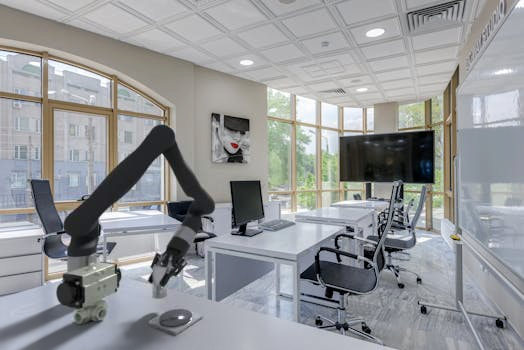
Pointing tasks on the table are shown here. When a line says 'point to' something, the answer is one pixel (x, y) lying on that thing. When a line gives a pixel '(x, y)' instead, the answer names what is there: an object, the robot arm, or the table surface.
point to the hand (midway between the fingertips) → (155, 283)
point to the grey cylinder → (158, 274)
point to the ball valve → (89, 290)
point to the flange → (175, 320)
